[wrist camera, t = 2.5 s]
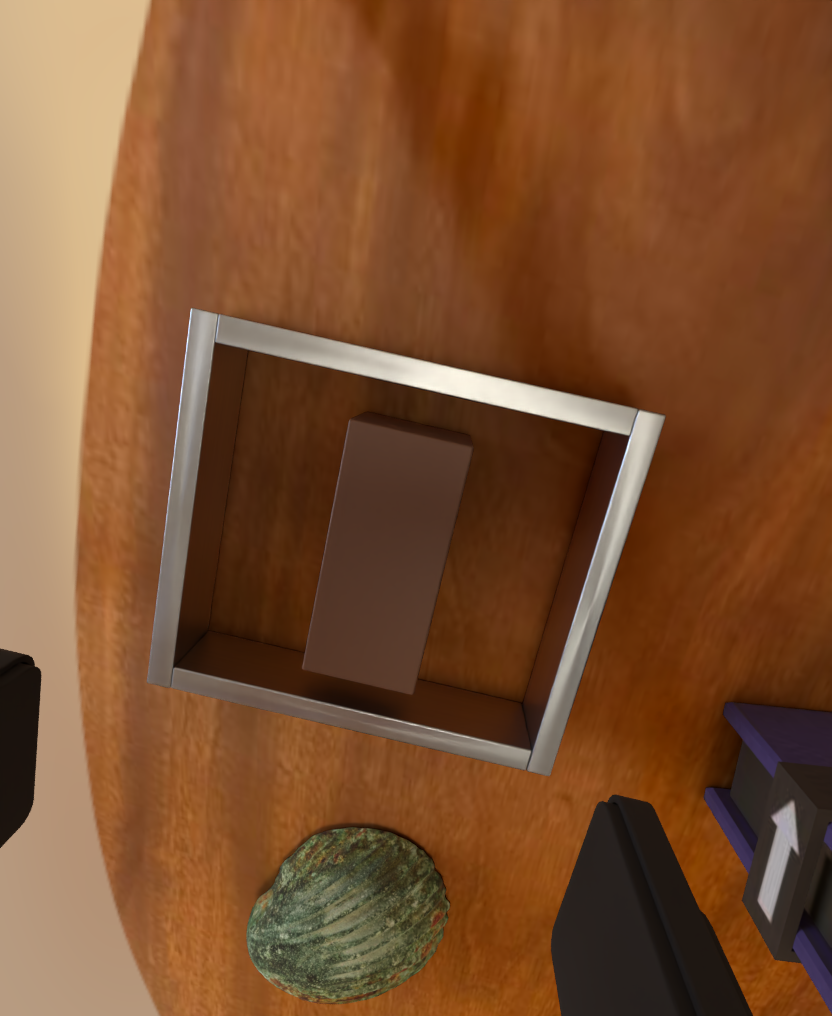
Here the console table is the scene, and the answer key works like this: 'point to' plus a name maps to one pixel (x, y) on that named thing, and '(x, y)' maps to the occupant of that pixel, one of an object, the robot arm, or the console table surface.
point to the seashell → (348, 917)
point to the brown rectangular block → (386, 550)
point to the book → (784, 830)
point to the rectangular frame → (278, 671)
